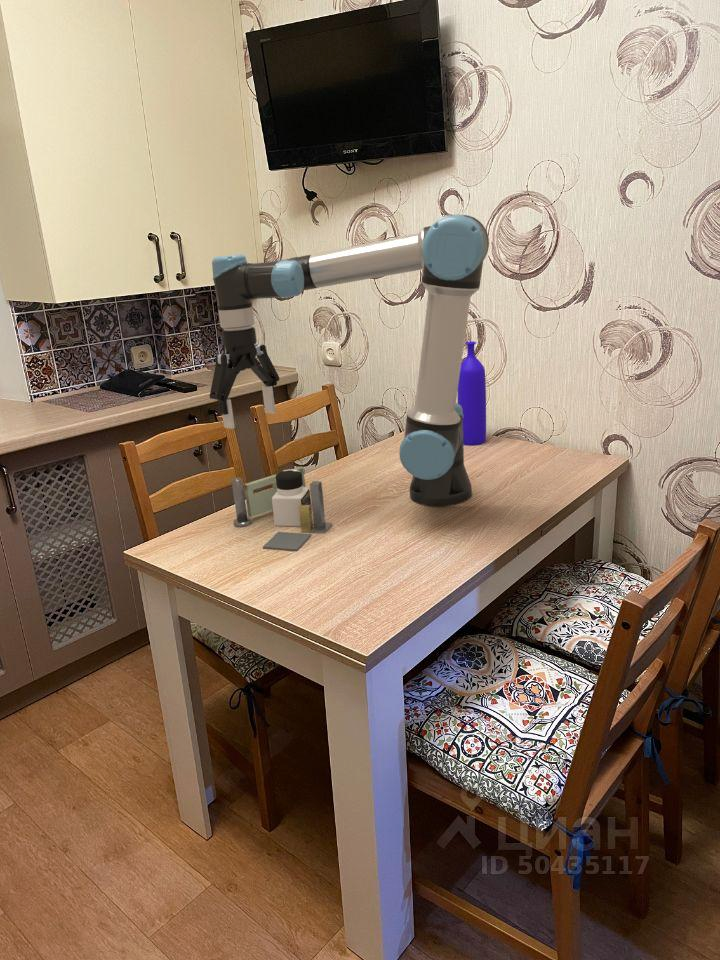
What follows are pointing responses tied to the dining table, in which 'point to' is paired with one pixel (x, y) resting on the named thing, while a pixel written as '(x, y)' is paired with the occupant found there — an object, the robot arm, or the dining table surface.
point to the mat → (287, 541)
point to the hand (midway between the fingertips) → (250, 420)
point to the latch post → (314, 511)
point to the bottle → (472, 398)
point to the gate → (263, 494)
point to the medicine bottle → (289, 498)
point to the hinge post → (240, 504)
